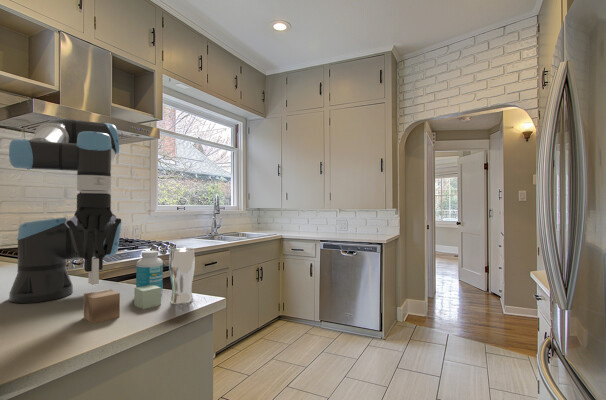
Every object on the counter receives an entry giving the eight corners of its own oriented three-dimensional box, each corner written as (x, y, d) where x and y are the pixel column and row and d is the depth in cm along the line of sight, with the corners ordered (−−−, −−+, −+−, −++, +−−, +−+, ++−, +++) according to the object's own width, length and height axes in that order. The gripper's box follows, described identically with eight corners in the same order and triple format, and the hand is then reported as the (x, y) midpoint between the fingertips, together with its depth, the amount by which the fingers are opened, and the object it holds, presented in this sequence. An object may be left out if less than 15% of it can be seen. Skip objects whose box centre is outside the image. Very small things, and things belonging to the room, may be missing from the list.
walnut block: (83, 293, 83) (92, 298, 79) (109, 289, 88) (119, 293, 84) (83, 318, 83) (92, 323, 79) (109, 312, 88) (119, 317, 84)
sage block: (134, 306, 93) (134, 288, 93) (151, 302, 97) (152, 284, 97) (142, 309, 90) (143, 291, 90) (160, 305, 94) (161, 287, 94)
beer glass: (183, 296, 102) (183, 247, 102) (199, 300, 98) (199, 248, 98) (163, 302, 96) (163, 250, 96) (180, 306, 92) (180, 251, 92)
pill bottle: (152, 300, 99) (152, 253, 99) (130, 298, 100) (130, 252, 100) (167, 293, 106) (168, 250, 106) (146, 291, 107) (147, 249, 108)
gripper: (70, 192, 80) (69, 291, 80) (126, 193, 90) (126, 280, 90) (59, 191, 85) (59, 285, 85) (114, 192, 95) (113, 276, 95)
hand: (93, 283), depth 88 cm, fingers closed
